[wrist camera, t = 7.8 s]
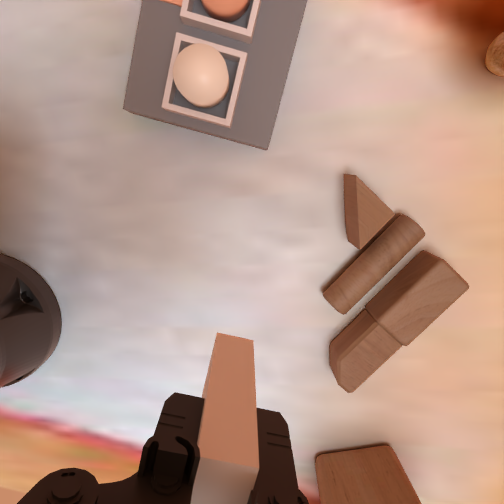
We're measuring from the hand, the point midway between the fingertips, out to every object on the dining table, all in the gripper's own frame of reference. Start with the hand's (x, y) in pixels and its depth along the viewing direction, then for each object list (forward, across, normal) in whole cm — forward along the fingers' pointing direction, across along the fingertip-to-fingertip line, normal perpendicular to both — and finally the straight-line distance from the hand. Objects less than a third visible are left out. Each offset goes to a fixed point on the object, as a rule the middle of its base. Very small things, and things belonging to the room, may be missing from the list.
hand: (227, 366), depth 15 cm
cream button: (+22, +6, -14) cm, 27 cm away
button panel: (+26, +6, -22) cm, 35 cm away
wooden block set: (+27, -13, +1) cm, 30 cm away
